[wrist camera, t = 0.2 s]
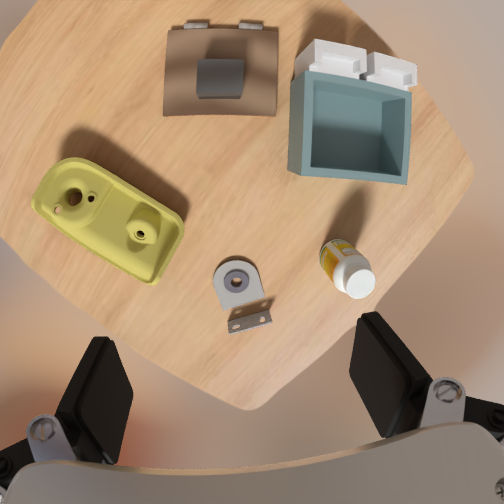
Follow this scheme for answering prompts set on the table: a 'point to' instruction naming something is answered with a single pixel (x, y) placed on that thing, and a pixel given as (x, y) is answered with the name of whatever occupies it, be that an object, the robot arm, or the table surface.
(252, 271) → the bracket
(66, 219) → the plastic component
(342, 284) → the supplement bottle
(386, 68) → the cabinet
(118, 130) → the table surface
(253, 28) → the door
